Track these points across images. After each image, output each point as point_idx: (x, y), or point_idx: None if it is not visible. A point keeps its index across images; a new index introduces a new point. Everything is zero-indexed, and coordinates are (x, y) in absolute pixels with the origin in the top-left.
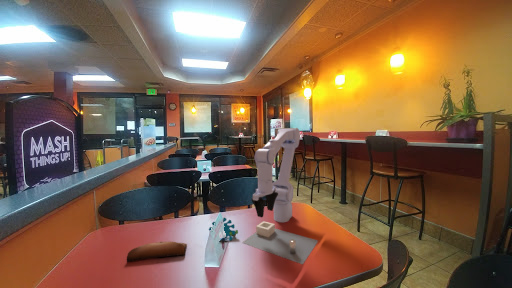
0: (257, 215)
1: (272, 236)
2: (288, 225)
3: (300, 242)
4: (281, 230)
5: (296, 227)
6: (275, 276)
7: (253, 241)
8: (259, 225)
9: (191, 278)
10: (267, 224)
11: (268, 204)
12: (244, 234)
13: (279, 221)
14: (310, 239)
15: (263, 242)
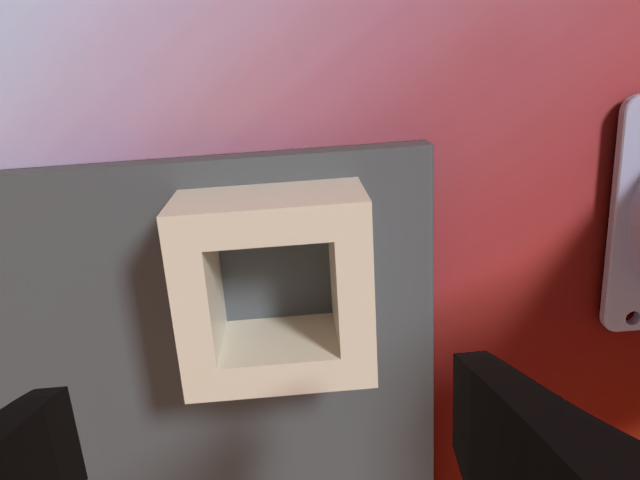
0: (23, 395)
1: None
2: (633, 337)
3: None
4: (430, 380)
5: (625, 425)
6: None
7: (9, 276)
8: (208, 242)
9: None
10: (336, 291)
11: (502, 450)
12: (111, 22)
13: (636, 250)
14: None
15: (75, 372)
